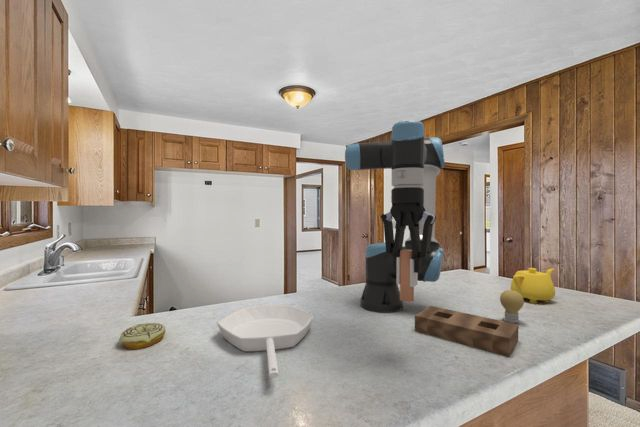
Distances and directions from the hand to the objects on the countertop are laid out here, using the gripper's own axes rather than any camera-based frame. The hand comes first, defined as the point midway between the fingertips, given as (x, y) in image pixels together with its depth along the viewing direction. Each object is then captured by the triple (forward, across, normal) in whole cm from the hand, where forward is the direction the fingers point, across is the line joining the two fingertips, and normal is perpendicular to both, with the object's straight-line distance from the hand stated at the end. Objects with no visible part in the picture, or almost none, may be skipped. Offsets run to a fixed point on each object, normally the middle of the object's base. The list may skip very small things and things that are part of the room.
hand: (406, 284), depth 74 cm
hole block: (+18, +7, +22) cm, 29 cm away
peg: (+4, 0, 0) cm, 4 cm away
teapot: (+18, +17, +77) cm, 81 cm away
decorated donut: (+18, -57, -39) cm, 71 cm away
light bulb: (+18, +15, +43) cm, 49 cm away
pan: (+18, -29, -19) cm, 39 cm away
